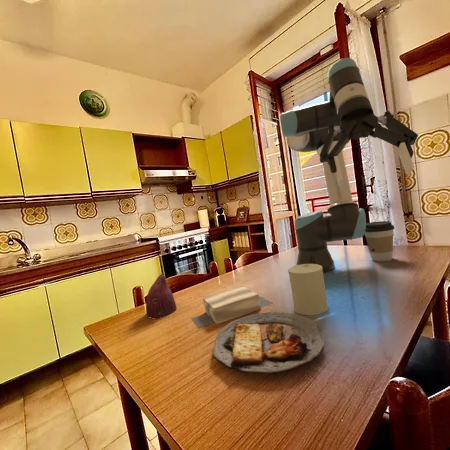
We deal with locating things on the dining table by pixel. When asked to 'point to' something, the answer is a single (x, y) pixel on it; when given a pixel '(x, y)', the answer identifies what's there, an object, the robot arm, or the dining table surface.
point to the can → (308, 289)
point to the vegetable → (160, 299)
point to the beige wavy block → (231, 304)
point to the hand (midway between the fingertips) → (374, 176)
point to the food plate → (268, 343)
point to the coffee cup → (380, 240)
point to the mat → (206, 320)
